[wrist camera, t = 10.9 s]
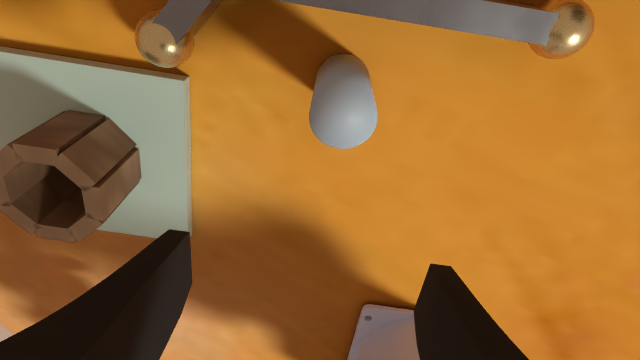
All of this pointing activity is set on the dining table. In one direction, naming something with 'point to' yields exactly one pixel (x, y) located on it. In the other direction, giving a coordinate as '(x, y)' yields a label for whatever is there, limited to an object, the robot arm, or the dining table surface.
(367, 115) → the post inner
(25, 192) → the napkin ring
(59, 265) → the dining table surface
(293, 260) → the dining table surface
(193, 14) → the rail
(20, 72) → the pad
